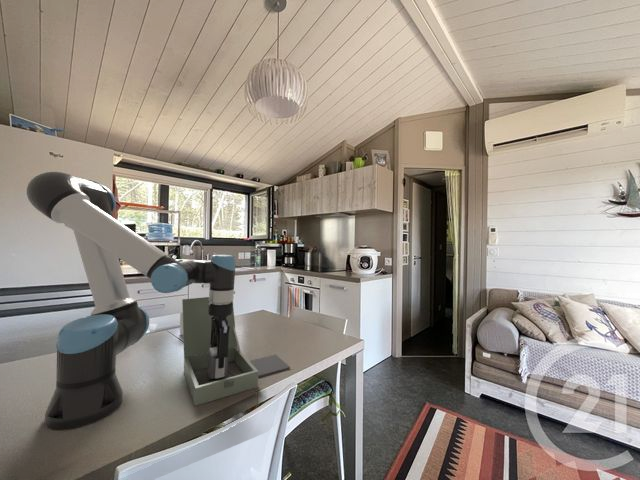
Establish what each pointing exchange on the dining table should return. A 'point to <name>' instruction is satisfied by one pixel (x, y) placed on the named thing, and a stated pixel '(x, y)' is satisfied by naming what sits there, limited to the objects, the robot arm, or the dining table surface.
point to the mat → (269, 365)
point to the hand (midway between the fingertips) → (217, 372)
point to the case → (197, 354)
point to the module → (214, 362)
